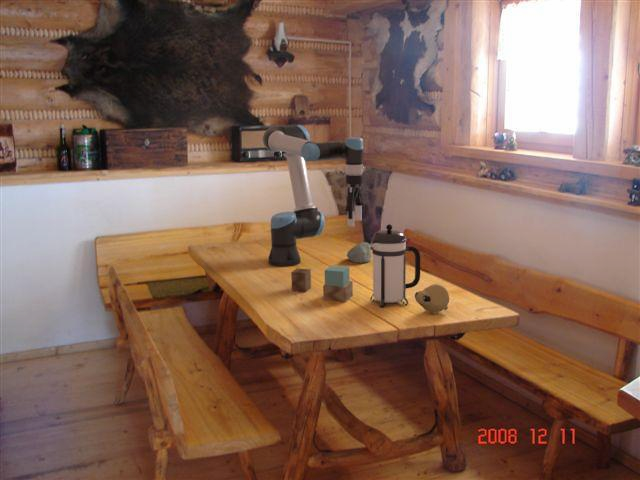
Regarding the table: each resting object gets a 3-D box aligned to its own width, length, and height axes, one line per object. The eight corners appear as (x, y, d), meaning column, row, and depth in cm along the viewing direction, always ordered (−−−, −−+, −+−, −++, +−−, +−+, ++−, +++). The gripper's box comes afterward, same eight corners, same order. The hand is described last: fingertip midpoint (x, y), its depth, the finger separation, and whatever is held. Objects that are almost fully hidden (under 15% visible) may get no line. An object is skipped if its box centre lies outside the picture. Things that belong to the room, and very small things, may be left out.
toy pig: (410, 311, 249) (410, 283, 247) (438, 306, 254) (438, 278, 252) (425, 319, 240) (425, 289, 238) (454, 314, 245) (454, 285, 243)
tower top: (324, 285, 264) (324, 270, 262) (331, 280, 271) (331, 265, 269) (343, 286, 261) (343, 271, 260) (349, 281, 268) (349, 266, 267)
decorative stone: (377, 263, 320) (376, 243, 324) (358, 257, 315) (358, 238, 319) (360, 272, 330) (360, 252, 334) (342, 266, 324) (342, 247, 329)
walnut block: (291, 291, 278) (291, 272, 276) (297, 287, 283) (296, 268, 282) (305, 292, 276) (305, 273, 274) (310, 288, 281) (310, 269, 280)
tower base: (323, 300, 265) (323, 285, 263) (330, 294, 273) (330, 279, 272) (345, 302, 262) (345, 287, 260) (352, 296, 270) (352, 281, 269)
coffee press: (401, 311, 250) (401, 230, 243) (362, 304, 258) (361, 226, 252) (420, 298, 264) (421, 221, 258) (383, 293, 272) (383, 218, 266)
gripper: (356, 178, 280) (356, 229, 284) (369, 171, 303) (369, 218, 308) (338, 177, 282) (338, 228, 287) (352, 170, 305) (353, 217, 310)
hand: (354, 223), depth 297 cm, fingers open, 13 cm apart
